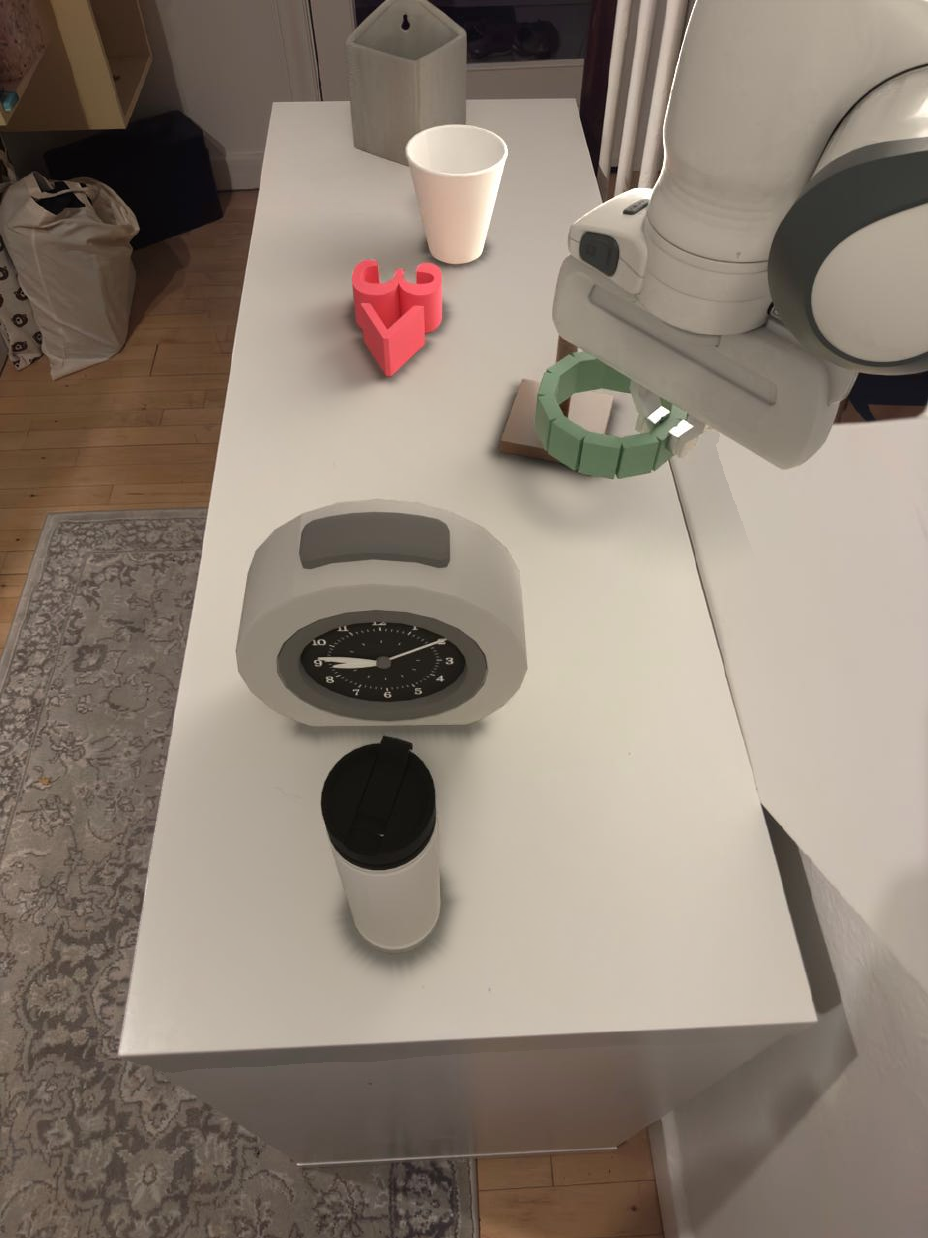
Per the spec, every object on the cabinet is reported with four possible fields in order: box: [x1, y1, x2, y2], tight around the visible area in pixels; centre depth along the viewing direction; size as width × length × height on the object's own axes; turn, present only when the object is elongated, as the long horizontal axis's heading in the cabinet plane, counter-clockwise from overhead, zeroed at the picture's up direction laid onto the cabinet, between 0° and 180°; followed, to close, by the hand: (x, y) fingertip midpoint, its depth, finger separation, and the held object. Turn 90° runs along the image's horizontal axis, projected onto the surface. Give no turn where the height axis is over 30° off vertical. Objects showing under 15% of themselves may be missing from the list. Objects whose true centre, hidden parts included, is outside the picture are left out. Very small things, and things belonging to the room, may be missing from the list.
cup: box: [405, 124, 509, 265], centre depth 105 cm, size 12×12×12 cm
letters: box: [351, 259, 443, 377], centre depth 98 cm, size 14×10×5 cm
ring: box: [534, 350, 688, 480], centre depth 64 cm, size 11×11×3 cm
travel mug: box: [320, 735, 441, 954], centre depth 54 cm, size 6×7×20 cm
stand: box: [499, 335, 615, 465], centre depth 86 cm, size 10×10×14 cm
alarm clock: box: [235, 498, 528, 727], centre depth 65 cm, size 21×8×20 cm, turn 91°
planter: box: [344, 0, 468, 167], centre depth 116 cm, size 16×8×19 cm, turn 101°
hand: (663, 440), depth 62 cm, fingers closed on ring
